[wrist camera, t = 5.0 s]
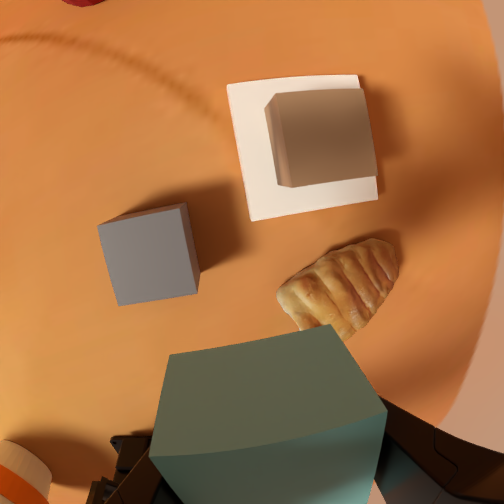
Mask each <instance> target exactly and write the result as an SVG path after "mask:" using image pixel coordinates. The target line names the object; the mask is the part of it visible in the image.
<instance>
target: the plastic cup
mask: <svg viewBox="0 0 504 504" xmlns="http://www.w3.org/2000/svg"><path fill="white" fill-rule="evenodd" d="M62 1H64V2H66V3H67V4H72V5H75V6H79V7H85V6H91V5H95V4H97V3H99V2H102V1H104V0H62Z"/></svg>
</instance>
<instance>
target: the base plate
mask: <svg viewBox="0 0 504 504" xmlns="http://www.w3.org/2000/svg"><path fill="white" fill-rule="evenodd" d="M353 88H360V85H359V80H358V76H357V75H319V76H300V77H287V78H275V79H266V80H257V81H249V82H241V83H235V84H228V85H227V94H228V100H229V105H230V111H231V116H232V122H233V127H234V133H235V138H236V144H237V149H238V155H239V160H240V166H241V171H242V177H243V182H244V188H245V194H246V199H247V205H248V210H249V216H250V220H251V221H258V220H263V219H268V218H274V217H279V216H285V215H290V214H296V213H301V212H307V211H312V210H318V209H324V208H330V207H335V206H341V205H347V204H353V203H359V202H365V201H372V200H378V193H377V184H376V176H371V177H364V178H356V179H349V180H342V181H335V182H328V183H321V184H314V185H308V186H302V187H295V188H290V187H285V186H280V185H278V184H277V178H276V173H275V167H274V161H273V155H272V150H271V144H270V139H269V133H268V128H267V122H266V117H265V112H264V108H265V107H266V105H267V104H268V103H269V101H270V100H271V99H272V97H273V96H274V95H275V93H283V92H294V91H306V90H323V89H353Z"/></svg>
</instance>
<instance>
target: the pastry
mask: <svg viewBox="0 0 504 504" xmlns="http://www.w3.org/2000/svg"><path fill="white" fill-rule="evenodd" d="M398 273H399V266H398V261H397V258H396V255H395V249H394V247H393V245H392V244H391V243H389V242H386V241H382V240H378V239H375V238H370V239H368V240H366V241H362V242H359V243H357V244H353V245H348V246H346V247H344V248H342V249H340V250H336V251H330V252H329V253H327V254H326V255H324V256H323V257H321V258H319V259H318V260H317V262H315V263H314V264H312V265H311V266H309V267H307V268H305V269H303V270H302V271H301V272H299V273H298V274H296V275H295V276H294V277H292V278H291V279H290V280H289V281H288V282H286V283H284V284H283V285H282V286H280V287H279V289H278V290H277V293H276V298H277V300H278V302H279V303H280V305H281V307H282V308H283V310H284V311H285V312H286V313H287V314H289V315H290V316H291V318H292V319H293V320H294V321H295V322H296V324H297V325H298V327H299V330H300V331H302V330H306V329H311V328H315V327H319V326H323V325H327V324H331V325H332V327H333V328H334V330H335V331H336V333H337V334H338V336H339V337H340V339H341V340H342V342H343V341H345V340H347V339H349V338H350V337H351V336H352V335H353V334H354V333H355V332H356V331H357V330H359V329H361V328H363V327H364V326H366V325H367V323H368V322H369V320H370V319H371V318H372V317H373V316H374V315H375V313H376V312H377V309H378V308H379V307H380V306H381V304H382V303H383V302H384V299H385V298H386V297H387V295H388V294H389V292H390V291H391V290H392V288H393V285H394V283H395V281H396V279H397V278H398Z"/></svg>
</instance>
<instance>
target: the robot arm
mask: <svg viewBox="0 0 504 504" xmlns="http://www.w3.org/2000/svg"><path fill="white" fill-rule="evenodd" d="M378 396H379V395H378ZM379 398H380V400H381V401H382V403H383V404H384V406H385V407H386V409H387V410H388V412H387V418H386V424H385V430H384V435H383V440H382V445H381V450H380V455H379V459H378V463H377V468H376V472H375V476H374V480H375V482H376V484H377V486H378V488H379V490H380V492H381V494H382V496H383V497H384V500H385V501H386V504H504V453H500V452H497V451H493V450H490V449H487V448H484V447H481V446H478V445H475V444H472V443H470V442H467V441H464V440H462V439H459V438H457V437H455V436H453V435H451V434H448V433H446V432H444V431H442V430H440V429H439V428H435V427H434V426H433V425H431V424H429V423H427V422H425V421H423V420H421V419H420V418H418V417H416V416H414V415H412V414H410V413H409V412H407V411H405V410H403V409H401V408H400V407H398V406H396V405H394V404H393V403H391V402H389V401H387V400H385V399H384V398H382V397H380V396H379ZM151 441H152V436H145V437H112V438H111V440H110V443H111V444H112V446H113V447H114V449H115V450H116V451H117V453H118V454H119V455H118V459H117V463H116V466H115V468H116V470H115V474H114V479H113V481H111V480H108V479H107V478H105V477H103V476H102V478H101V482H100V481H93V482H92V485H91V488H90V492H89V495H88V498H87V502H86V504H184V503H183V502H182V501H181V499H180V498H179V497H178V496H177V494H176V493H175V492H174V490H173V489H172V488H171V487H170V485H169V484H168V483H167V481H166V480H165V479H164V477H163V476H162V475H161V473H160V472H159V471H158V469H157V468H156V466H155V465H154V463H153V462H152V461H151V459H150V458H149V452H150V446H151Z"/></svg>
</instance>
